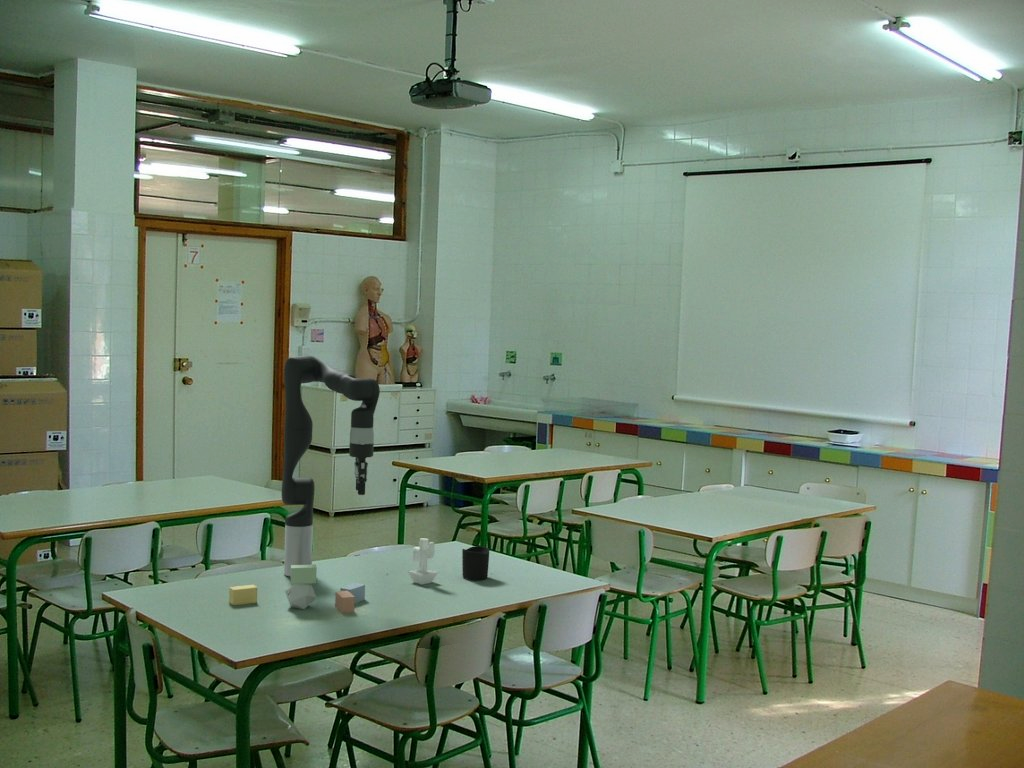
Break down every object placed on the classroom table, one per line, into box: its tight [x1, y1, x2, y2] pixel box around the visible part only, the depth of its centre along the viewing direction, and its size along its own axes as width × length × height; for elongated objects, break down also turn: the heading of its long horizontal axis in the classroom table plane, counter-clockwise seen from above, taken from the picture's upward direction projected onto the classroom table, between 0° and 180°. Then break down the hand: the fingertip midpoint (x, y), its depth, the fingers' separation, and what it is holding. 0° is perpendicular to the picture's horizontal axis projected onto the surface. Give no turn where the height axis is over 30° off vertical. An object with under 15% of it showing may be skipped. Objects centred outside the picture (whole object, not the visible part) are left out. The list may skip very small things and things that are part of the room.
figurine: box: [407, 537, 439, 586], centre depth 338 cm, size 7×9×15 cm
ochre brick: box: [228, 584, 258, 606], centre depth 306 cm, size 4×8×5 cm, turn 123°
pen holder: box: [461, 545, 490, 581], centre depth 347 cm, size 9×9×10 cm
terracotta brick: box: [334, 590, 356, 614], centre depth 302 cm, size 4×8×5 cm, turn 25°
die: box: [284, 583, 317, 610], centre depth 303 cm, size 8×9×10 cm
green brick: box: [290, 564, 317, 585], centre depth 303 cm, size 4×8×5 cm, turn 103°
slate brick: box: [339, 582, 366, 604], centre depth 312 cm, size 4×8×5 cm, turn 151°
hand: (360, 492), depth 316 cm, fingers open, 8 cm apart
